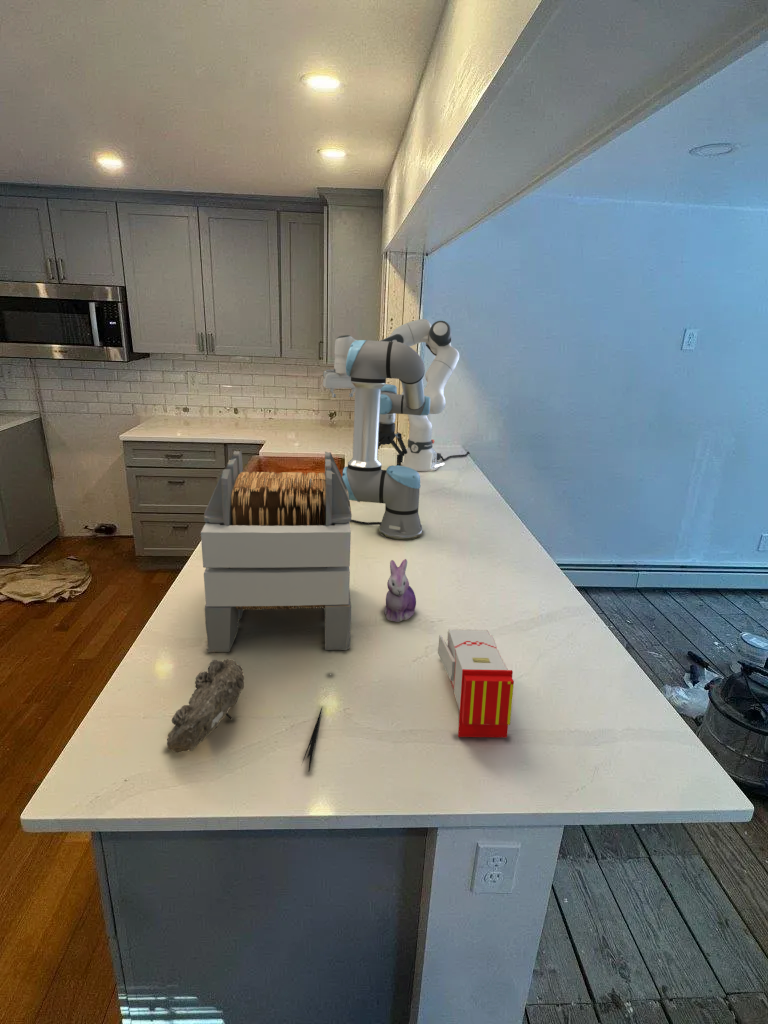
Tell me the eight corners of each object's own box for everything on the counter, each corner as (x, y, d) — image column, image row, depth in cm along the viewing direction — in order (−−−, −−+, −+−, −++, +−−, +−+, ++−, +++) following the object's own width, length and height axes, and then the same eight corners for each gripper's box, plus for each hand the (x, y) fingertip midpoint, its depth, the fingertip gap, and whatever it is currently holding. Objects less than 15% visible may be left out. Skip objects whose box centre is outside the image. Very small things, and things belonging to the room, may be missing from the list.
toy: (488, 613, 130) (523, 677, 101) (484, 667, 133) (517, 744, 104) (435, 612, 130) (455, 676, 101) (432, 666, 133) (451, 743, 103)
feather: (331, 679, 122) (336, 673, 122) (307, 777, 96) (313, 769, 95) (324, 675, 122) (329, 669, 121) (298, 772, 95) (304, 764, 95)
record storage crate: (227, 584, 158) (219, 441, 145) (344, 583, 162) (347, 443, 148) (205, 654, 127) (191, 480, 113) (351, 650, 130) (355, 481, 117)
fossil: (192, 660, 117) (244, 628, 112) (224, 691, 120) (276, 661, 115) (142, 746, 98) (202, 712, 93) (182, 779, 101) (242, 748, 96)
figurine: (392, 627, 141) (395, 572, 136) (374, 608, 149) (376, 556, 144) (425, 619, 145) (429, 566, 140) (405, 601, 154) (408, 550, 149)
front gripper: (362, 425, 229) (360, 476, 236) (416, 422, 239) (413, 471, 246) (355, 421, 235) (354, 471, 242) (408, 419, 245) (406, 466, 252)
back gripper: (325, 370, 275) (325, 398, 280) (364, 369, 283) (363, 397, 288) (321, 368, 280) (320, 396, 285) (359, 368, 289) (358, 395, 293)
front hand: (384, 471), depth 244 cm, fingers open, 13 cm apart
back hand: (342, 397), depth 287 cm, fingers open, 8 cm apart
